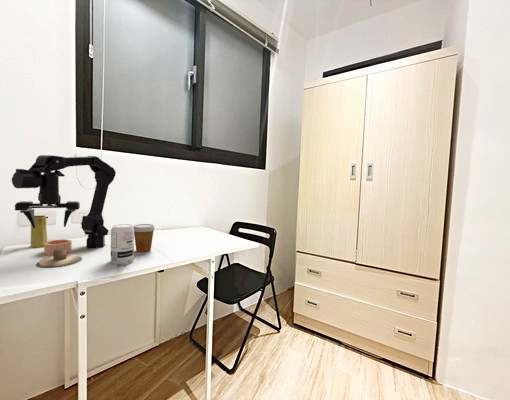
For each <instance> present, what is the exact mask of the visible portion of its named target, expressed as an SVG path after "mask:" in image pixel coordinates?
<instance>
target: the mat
mask: <svg viewBox="0 0 510 400" xmlns="http://www.w3.org/2000/svg"><path fill="white" fill-rule="evenodd" d="M82 260H83V257H82V256H79V260H78V261H77V262H75V263H72V264H69V265H64V266H58V267H43V266H40V265H39V261H38V262H37V263H36V264H35V267H36V268H40V269H55V268H57V269H58V268H63V267H68V266H71V265H72V266H73V265H75V264H78V263H80V262H81V261H82Z"/></svg>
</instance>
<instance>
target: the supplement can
mask: <svg viewBox="0 0 510 400" xmlns="http://www.w3.org/2000/svg"><path fill="white" fill-rule="evenodd" d="M133 227H134V225H132V224H127V223H124V224H114V225H112V227H111V229H110V263H111V264H114V265H115V264H116V265H118V266H123V265H124V266H125V265H128V264H131V263H133V261H134V259H135V237H134V228H133Z"/></svg>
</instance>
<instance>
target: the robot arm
mask: <svg viewBox="0 0 510 400" xmlns="http://www.w3.org/2000/svg"><path fill="white" fill-rule="evenodd" d="M78 166H79V167H81V166H89V168H90V170H91V171H92V172H93V173H94V180H95V182H96V184H95V189H94V193H93V197H92V202H91V205H90V209H89V213H87V214H86V215H83V216H82V219H81V223H80V227H81V229H82V231H83V233H84V235H85V236H87V238H86V249H103V248H104V247H106V244H105V243H106V241H105V239H106V238H105V237H106V236H108V235H109V229H107V228H106V226H105V225H104V223H105V221H104V217H103V211H104V206H105V202H106V198H107V194H108V190H109V186H110V185H111V183H112V182H113V181H114V179H115V177H116V174H117V173H116V170H115V168H114V167H112V166H111V165H109V164H108V163H106V161H103V160H101V158H100V157H98V156H97V155H87V156H70V157H67V156H60V155H51V154H50V155H49V154H48V155H46V154H44V155H43V154H42V155H41V154H40V155H37V157H36V159H35V162H34V163H33V164H32V165H31V167H29V169H24V168H15V171H14V174H12V177H11V183H12V186H13V187H14V188H15V189H37V188H39V191H38V192H39V193H38V196H37V197H38V198H37V200H38V202H39V203H38V202H37V203H34V201H31V200H30V201H23V200H22V201H19V202H16V203H15V204H14V211H19V213H21V214H23V215H24V216H25V217H26V218H27V220H28V221H29V223H30V226H31V225H32V226H33V228H36V223H35V216H36V215H35V209H63V208H64V209H65V211H64V217H63V227H64V228H66V226H67V223H68V221H69V218H70V216H71V214H72V213H75V211H78V210H79V209H80V208H81V207H80V206H81V203H80V202H79V201H76V200H75V201H71V200H70V201H67V202H66V203H65V202H64V203H61V201H62V199H61V198H62V196H61V195H60V190H59V189H60V185H59V184H60V183H59V182H60V181H59V179H60V178H59V177H62V178H63V177H65V176H66V175H65V174H64V173H62V172H61V170H63V169H65V168H68V167H78Z"/></svg>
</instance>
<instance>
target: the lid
mask: <svg viewBox="0 0 510 400" xmlns="http://www.w3.org/2000/svg"><path fill="white" fill-rule="evenodd" d="M79 257H80V256H79V255H78V254H73V253H66V249H56V250H53V255H49V256H47V257H43V258H41V259H40V260H39V261H38V262H39V265H40V266H43V267H57V268H59V267H58V266H64V265H69V264H72V263H75V262H77V261H78V260H79ZM72 265H73V264H72ZM69 266H70V265H69ZM64 267H65V266H64Z"/></svg>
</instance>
